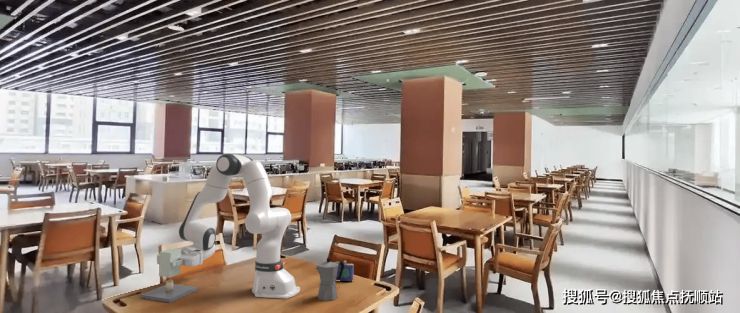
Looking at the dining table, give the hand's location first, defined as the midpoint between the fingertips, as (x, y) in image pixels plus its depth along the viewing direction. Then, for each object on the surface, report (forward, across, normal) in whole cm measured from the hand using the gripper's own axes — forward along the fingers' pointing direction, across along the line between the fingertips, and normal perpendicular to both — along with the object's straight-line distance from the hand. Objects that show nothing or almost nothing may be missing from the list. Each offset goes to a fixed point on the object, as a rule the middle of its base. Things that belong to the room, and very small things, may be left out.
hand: (165, 263), depth 168 cm
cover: (-3, 0, +6) cm, 7 cm away
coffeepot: (-24, +70, +14) cm, 76 cm away
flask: (-47, +69, +14) cm, 85 cm away
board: (-3, 0, +15) cm, 15 cm away
